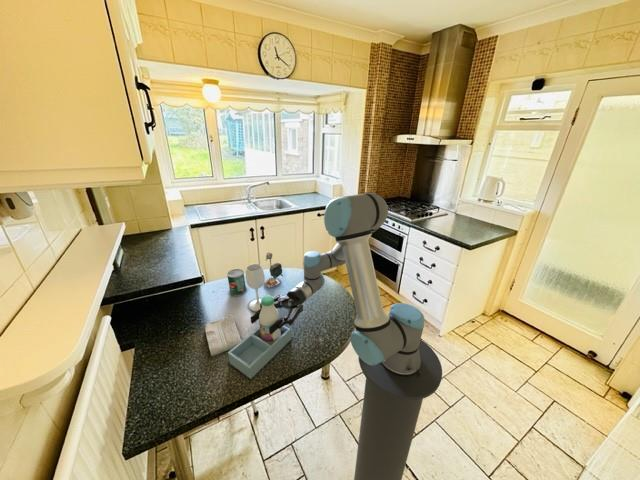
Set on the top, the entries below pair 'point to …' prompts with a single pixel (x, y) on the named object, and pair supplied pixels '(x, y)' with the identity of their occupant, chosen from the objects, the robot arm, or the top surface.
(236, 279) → the canned tomato
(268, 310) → the milk bottle
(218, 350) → the washcloth
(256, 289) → the wineglass
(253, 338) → the divided tray
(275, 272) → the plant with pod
